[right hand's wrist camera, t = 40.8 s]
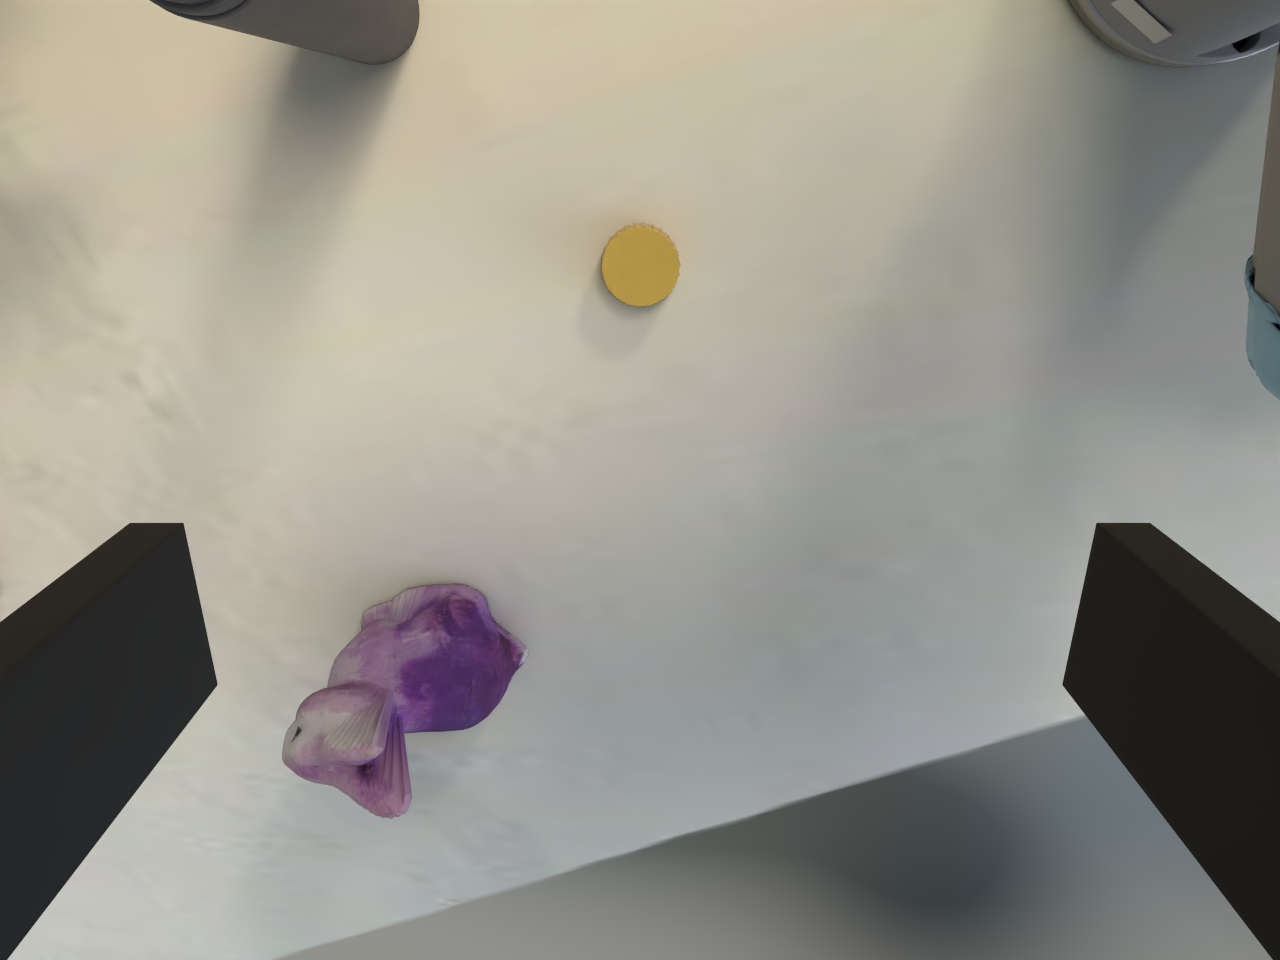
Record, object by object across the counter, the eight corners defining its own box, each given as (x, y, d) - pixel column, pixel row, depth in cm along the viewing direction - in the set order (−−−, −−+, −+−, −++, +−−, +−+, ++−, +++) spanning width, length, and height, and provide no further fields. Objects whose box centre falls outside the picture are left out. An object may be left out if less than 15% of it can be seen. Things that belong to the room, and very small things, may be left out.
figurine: (324, 642, 56) (219, 811, 42) (428, 541, 53) (353, 686, 39) (436, 729, 58) (372, 916, 44) (540, 637, 56) (508, 805, 42)
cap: (599, 298, 48) (598, 304, 46) (604, 219, 47) (603, 222, 45) (674, 304, 48) (676, 310, 46) (682, 226, 47) (684, 229, 45)
